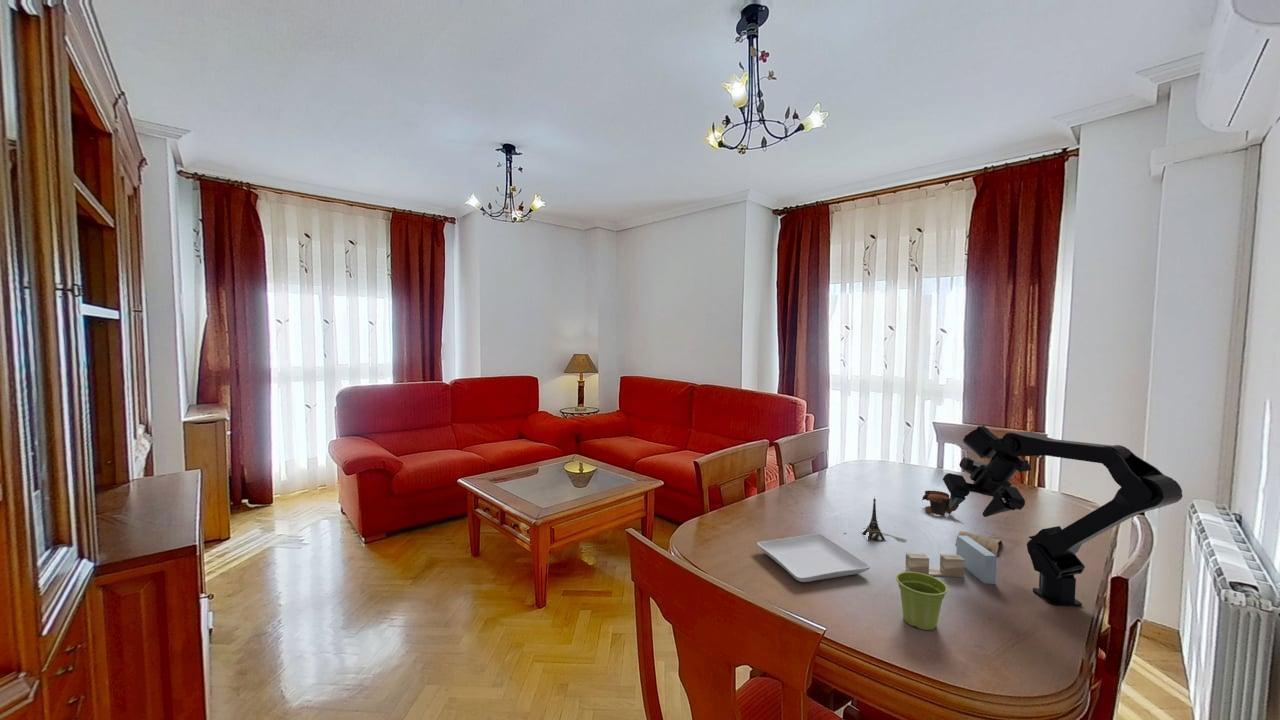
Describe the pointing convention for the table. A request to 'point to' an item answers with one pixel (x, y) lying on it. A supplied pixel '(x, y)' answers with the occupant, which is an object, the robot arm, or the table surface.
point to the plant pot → (921, 599)
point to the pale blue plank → (977, 559)
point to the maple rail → (948, 567)
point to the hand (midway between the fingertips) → (966, 511)
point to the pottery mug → (938, 502)
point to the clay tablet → (983, 541)
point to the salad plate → (812, 557)
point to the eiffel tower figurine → (877, 529)
